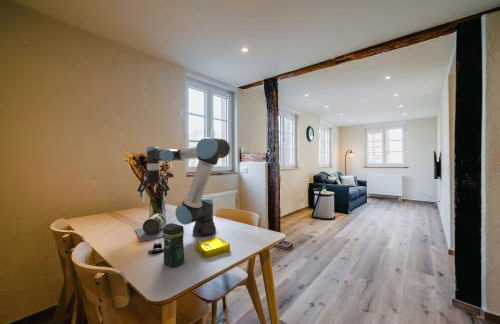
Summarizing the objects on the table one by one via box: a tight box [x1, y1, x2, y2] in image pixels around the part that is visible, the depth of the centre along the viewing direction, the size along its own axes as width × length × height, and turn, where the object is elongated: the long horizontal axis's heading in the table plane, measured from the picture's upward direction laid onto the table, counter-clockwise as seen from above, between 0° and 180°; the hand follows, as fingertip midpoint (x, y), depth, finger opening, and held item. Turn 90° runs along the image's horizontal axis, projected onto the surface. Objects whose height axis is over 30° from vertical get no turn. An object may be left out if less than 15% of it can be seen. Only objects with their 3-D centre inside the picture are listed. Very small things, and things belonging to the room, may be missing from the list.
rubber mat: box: [134, 223, 167, 243], centre depth 148 cm, size 26×20×1 cm
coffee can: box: [142, 213, 166, 235], centre depth 149 cm, size 10×10×14 cm
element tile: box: [194, 236, 231, 259], centre depth 119 cm, size 15×15×5 cm
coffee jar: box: [163, 222, 185, 268], centre depth 105 cm, size 10×8×19 cm
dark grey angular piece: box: [147, 242, 164, 256], centre depth 118 cm, size 12×7×5 cm, turn 110°
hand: (154, 201), depth 148 cm, fingers open, 13 cm apart
